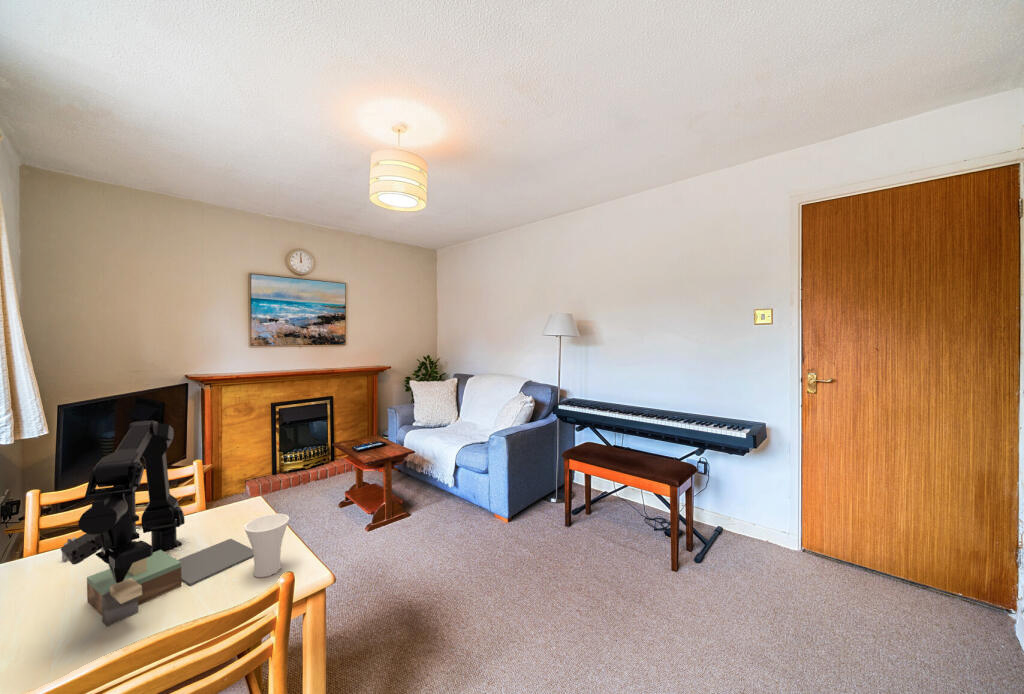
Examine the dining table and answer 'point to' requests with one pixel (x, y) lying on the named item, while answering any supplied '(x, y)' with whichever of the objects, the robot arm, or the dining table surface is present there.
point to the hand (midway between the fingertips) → (119, 581)
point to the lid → (137, 571)
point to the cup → (266, 542)
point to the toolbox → (150, 590)
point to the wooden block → (125, 590)
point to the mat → (213, 561)
